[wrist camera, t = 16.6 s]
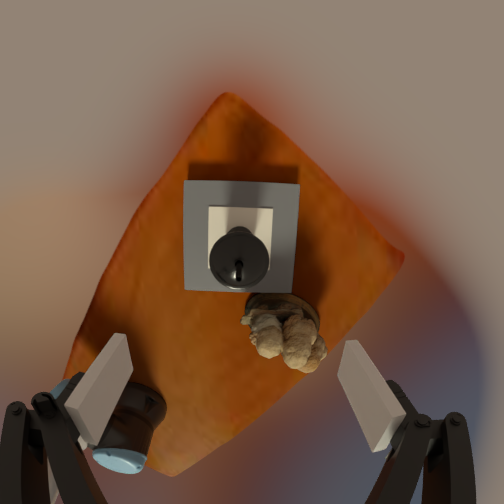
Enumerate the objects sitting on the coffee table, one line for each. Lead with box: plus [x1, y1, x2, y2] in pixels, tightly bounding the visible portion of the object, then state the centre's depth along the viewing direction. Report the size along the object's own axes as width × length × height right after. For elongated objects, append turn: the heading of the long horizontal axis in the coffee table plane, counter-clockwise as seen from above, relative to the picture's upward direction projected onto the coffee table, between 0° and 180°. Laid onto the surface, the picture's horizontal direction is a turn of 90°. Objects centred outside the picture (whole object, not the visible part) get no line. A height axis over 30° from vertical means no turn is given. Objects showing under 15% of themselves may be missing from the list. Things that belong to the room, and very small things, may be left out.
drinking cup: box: [209, 226, 269, 290], centre depth 38 cm, size 8×8×20 cm
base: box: [183, 180, 300, 293], centre depth 49 cm, size 20×20×3 cm
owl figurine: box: [240, 292, 328, 373], centre depth 47 cm, size 18×12×17 cm, turn 62°
